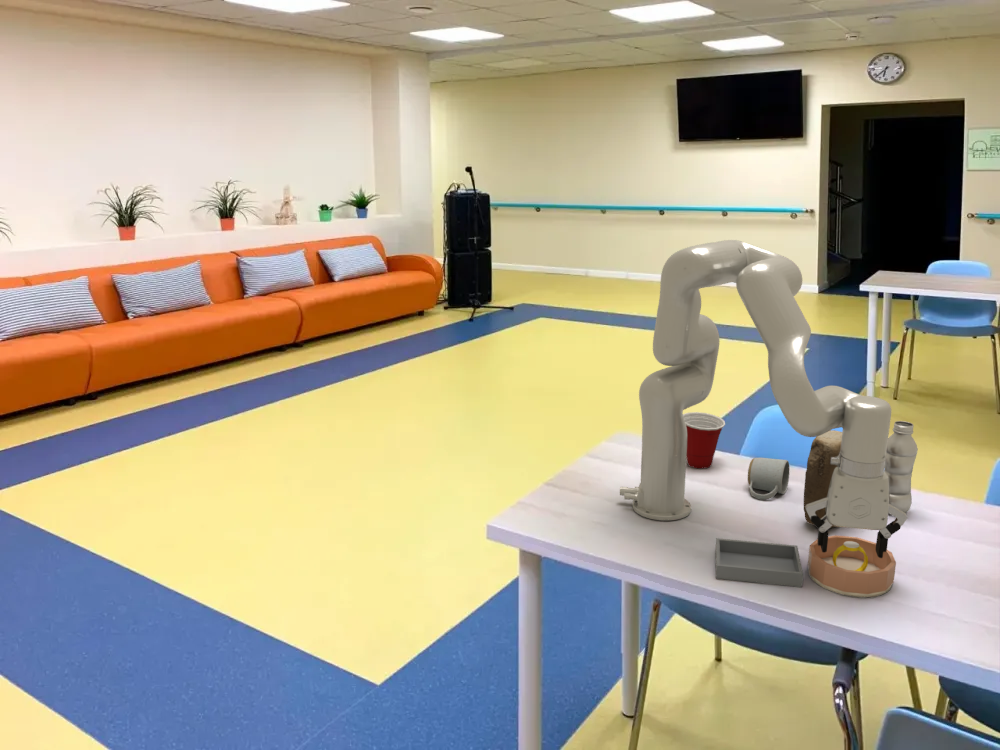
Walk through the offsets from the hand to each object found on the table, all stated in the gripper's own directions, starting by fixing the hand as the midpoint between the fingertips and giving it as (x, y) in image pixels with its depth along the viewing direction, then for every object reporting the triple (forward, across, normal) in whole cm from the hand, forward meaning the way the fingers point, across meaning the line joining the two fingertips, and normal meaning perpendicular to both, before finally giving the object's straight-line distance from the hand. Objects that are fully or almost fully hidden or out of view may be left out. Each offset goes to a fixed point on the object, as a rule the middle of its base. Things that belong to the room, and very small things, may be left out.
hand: (850, 551), depth 160 cm
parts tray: (+5, -16, 0) cm, 17 cm away
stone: (+6, -1, +23) cm, 24 cm away
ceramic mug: (+6, -12, +37) cm, 39 cm away
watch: (+4, 0, 0) cm, 5 cm away
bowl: (+5, 0, 0) cm, 5 cm away
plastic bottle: (+5, +14, +32) cm, 35 cm away
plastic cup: (+6, -27, +51) cm, 58 cm away
